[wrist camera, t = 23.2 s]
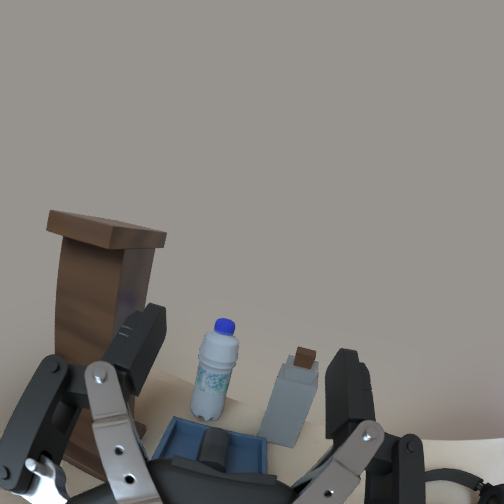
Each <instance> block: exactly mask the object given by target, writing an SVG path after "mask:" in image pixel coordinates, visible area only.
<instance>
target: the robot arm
mask: <svg viewBox="0 0 504 504" xmlns="http://www.w3.org/2000/svg"><path fill="white" fill-rule="evenodd" d="M166 330H167V326H166V308H165V307H163V306H159V305H156V304H153V303H149V304H148V305H147V307H146V308H145V310H144V311H143V312H140V311H137V310H136V311H135V312H133V313H132V314H131V315H129V316H128V317H127V318H126V320H125V321H124V323H123V324H122V327H121V328H120V329H119V331H118V333H117V334H116V336H115V337H114V339H113V340H112V342H111V344H110V345H109V347H108V348H107V350H106V352H105V353H104V355H103V357H102V358H101V359H100V360H99V361H96V362H93V363H91V364H90V365H89V366H81V365H74V364H67V362H66V360H65V359H64V358H63V357H62V356H60V355H56V354H53V355H49V356H47V357H45V358H44V359H43V360H42V362H41V363H40V365H39V367H38V368H37V370H36V372H35V373H34V375H33V377H32V379H31V381H30V382H29V384H28V386H27V387H26V389H25V391H24V393H23V395H22V397H21V399H20V401H19V403H18V405H17V406H16V408H15V410H14V412H13V414H12V416H11V418H10V420H9V422H8V425H7V427H6V429H5V431H4V433H3V436H2V438H1V440H0V487H1V488H3V489H5V490H8V491H10V492H12V493H13V494H16V495H18V496H21V497H24V498H25V499H27V500H28V501H29V502H31V503H32V504H343V503H344V502H345V501H346V499H347V498H348V497H349V496H350V494H351V493H352V492H353V491H354V489H355V488H356V487H357V485H358V484H359V482H360V480H361V478H360V475H361V473H362V472H363V470H366V484H365V499H364V504H426V494H425V466H424V452H423V444H422V441H421V440H420V438H418V436H416V435H414V434H407V435H404V436H403V437H402V438H400V437H397V436H394V435H391V434H388V433H385V432H384V430H383V428H382V427H381V426H380V424H379V423H377V422H376V419H375V411H374V403H373V395H372V391H371V390H372V388H371V384H370V375H369V371H368V369H367V367H366V366H365V364H364V363H360V362H359V359H358V353H357V351H355V350H350V349H343V348H341V349H339V351H338V352H337V354H336V355H335V357H334V359H333V360H332V362H331V363H330V365H329V366H328V368H327V371H326V375H325V393H326V396H325V398H326V439H333V445H332V446H331V447H330V449H329V450H328V451H327V452H326V453H325V454H324V455H323V456H322V458H321V459H320V460H319V461H318V462H317V463H316V464H315V465H314V466H313V467H312V468H311V469H310V470H309V471H308V472H307V473H306V474H305V475H304V476H303V477H301V478H300V479H299V480H298V481H297V482H296V483H294V484H293V485H292V486H291V487H289V486H288V485H286V484H284V483H282V482H280V481H278V480H277V476H276V475H268V474H260V473H253V472H249V473H222V472H220V471H218V470H216V469H213V468H211V467H209V466H207V465H205V464H203V463H201V462H199V461H195V460H192V459H188V458H185V457H181V456H178V455H175V454H174V455H173V458H160V459H154V460H150V461H149V459H148V457H147V454H146V452H145V449H144V447H143V445H142V442H141V440H140V437H139V435H138V432H137V429H136V426H135V424H134V421H133V418H132V415H131V411H130V408H129V405H128V400H129V398H130V396H131V394H132V395H134V396H137V397H138V396H139V394H140V391H141V389H142V387H143V385H144V383H145V380H146V378H147V376H148V374H149V372H150V369H151V367H152V365H153V363H154V361H155V359H156V357H157V354H158V352H159V350H160V348H161V346H162V344H163V342H164V339H165V336H166ZM82 408H84V409H90V410H91V413H92V418H93V421H92V423H91V424H92V430H93V434H94V438H95V441H96V445H97V448H98V452H99V455H100V458H101V461H102V464H103V467H104V470H105V473H106V476H107V479H108V482H106V483H103V484H101V485H99V486H97V487H95V488H93V489H90V490H88V491H86V492H83V493H81V494H79V495H76V496H74V497H72V498H70V497H69V496H68V494H67V492H66V488H65V484H66V475H65V473H64V471H63V469H62V468H61V467H60V466H59V465H60V463H61V460H62V457H63V455H64V452H65V449H66V447H67V444H68V442H69V439H70V437H71V434H72V432H73V429H74V427H75V425H76V422H77V420H78V418H79V415H80V413H81V411H82Z"/></svg>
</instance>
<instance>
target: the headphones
mask: <svg viewBox="0 0 504 504" xmlns="http://www.w3.org/2000/svg"><path fill="white" fill-rule="evenodd" d="M434 480H448V481H453V482H456V483H459V484H462V485H464V486H466V487H469V488H470V489H472V490H474V491H475V492H476V491H477V490H479V491H480V494H479V496H480V499H479V501H478V504H504V484H499V485H495V486H493V485H491V484H490V483H486V484H484V483H482V482H483V481H484V480H483V479H481V478H479V477H477V476H475V475H473V474H470V473H468V472H465V471H462V470H457V469H448V468H443V469H435V470H430V471H426V472H425V482H428V481H434Z"/></svg>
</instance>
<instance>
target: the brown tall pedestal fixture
mask: <svg viewBox="0 0 504 504" xmlns="http://www.w3.org/2000/svg"><path fill="white" fill-rule="evenodd" d="M46 230H47V231H49V232H53V233H56V234H59V235H62V236H63V240H62V247H61V254H60V261H59V269H58V279H57V290H56V291H57V292H56V307H55V354H56V355H60V356H62V357H63V358H64V359H65V360H66V362H67V364H74V365H81V366H89V365H90V364H91V363H93V362H96V361H99V360H100V359H101V358H102V357H103V355H104V353H105V352H106V350H107V348H108V347H109V345H110V344H111V342H112V340H113V339H114V337H115V336H116V334H117V333H118V331H119V329H120V328H121V327H122V324H123V323H124V321H125V320H126V318H127V317H128V316H129V315H131V314H132V313H133V312H135V311H136V310H137V311H140V312H143V311H144V309H145V302H146V295H147V290H148V284H149V279H150V273H151V268H152V262H153V257H154V253H155V248H163V247H164V244H165V239H166V234H167V233H166V232H162V231H158V230H154V229H150V228H146V227H141V226H137V225H133V224H129V223H124V222H120V221H116V220H110V219H104V218H98V217H91V216H85V215H79V214H73V213H66V212H60V211H54V210H50V213H49V217H48V223H47V228H46ZM134 404H135V396H134V395H132V394H131V396H130V398H129V400H128V405H129V408H130V411H131V415H132V418H133V421H134ZM92 421H93V418H92V413H91V410H90V409H84V408H82V411H81V413H80V415H79V418H78V420H77V422H76V425H75V427H74V429H73V432H72V434H71V437H70V439H69V442H68V444H67V447H66V449H65V452H64V455H63V457H62V459H63V460H65V461H67V462H68V463H70V464H72V465H73V466H75V467H77V468H79V469H81V470H82V471H84V472H86V473H88V474H90V475H92V476H94V477H96V478H98V479H100V480H102V481H104V482H108V479H107V476H106V473H105V470H104V467H103V464H102V461H101V458H100V455H99V452H98V448H97V445H96V441H95V438H94V434H93V430H92V424H91V423H92ZM134 424H135V426H136V429H137V432H138V435H139V437H140V439H141V437H142V436H143V434H144V433H145V429H146V425H144V424H141V423H138V422H136V421H134Z"/></svg>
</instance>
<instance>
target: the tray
mask: <svg viewBox="0 0 504 504" xmlns="http://www.w3.org/2000/svg"><path fill="white" fill-rule="evenodd" d="M208 428H212V427H211V426H207V425H203V424H199V423H195V422H192V421H188V420H185V419H182V418H178V417H175V416H173V418H172V420H171V422H170V424H169V426H168V428H167V430H166V431H165V433H164V435H163V437H162V439H161V441H160V443H159V445H158V447H157V449H156V451H155V453H154V455H153V457H152V459H151V460H154V459H160V458H173V455H174V454H175V455H178V456H181V457H185V458H188V459H192V460H195V461H196V457H197V453H198V450H199V446H200V442H201V439H202V435H203V432H204V431H205V430H206V429H208ZM225 431H227V432H228V433H229V435H230V437H231V440H230V448H229V456H228V464H227V472H226V473H249V472H253V473H260V474H267V438H265V437H258V436H253V435H247V434H242V433H237V432H232V431H228V430H225Z"/></svg>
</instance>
